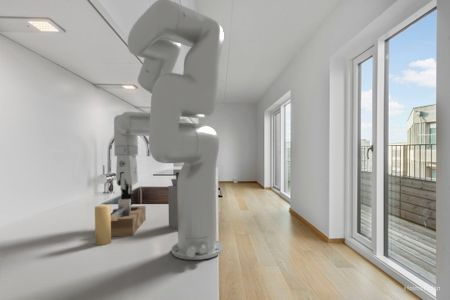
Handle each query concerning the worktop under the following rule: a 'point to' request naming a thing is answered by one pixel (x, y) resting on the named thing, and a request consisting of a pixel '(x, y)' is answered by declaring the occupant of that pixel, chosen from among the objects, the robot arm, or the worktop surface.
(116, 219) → the lock pin
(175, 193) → the perfume bottle
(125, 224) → the socket block
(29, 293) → the worktop surface
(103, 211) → the peg
